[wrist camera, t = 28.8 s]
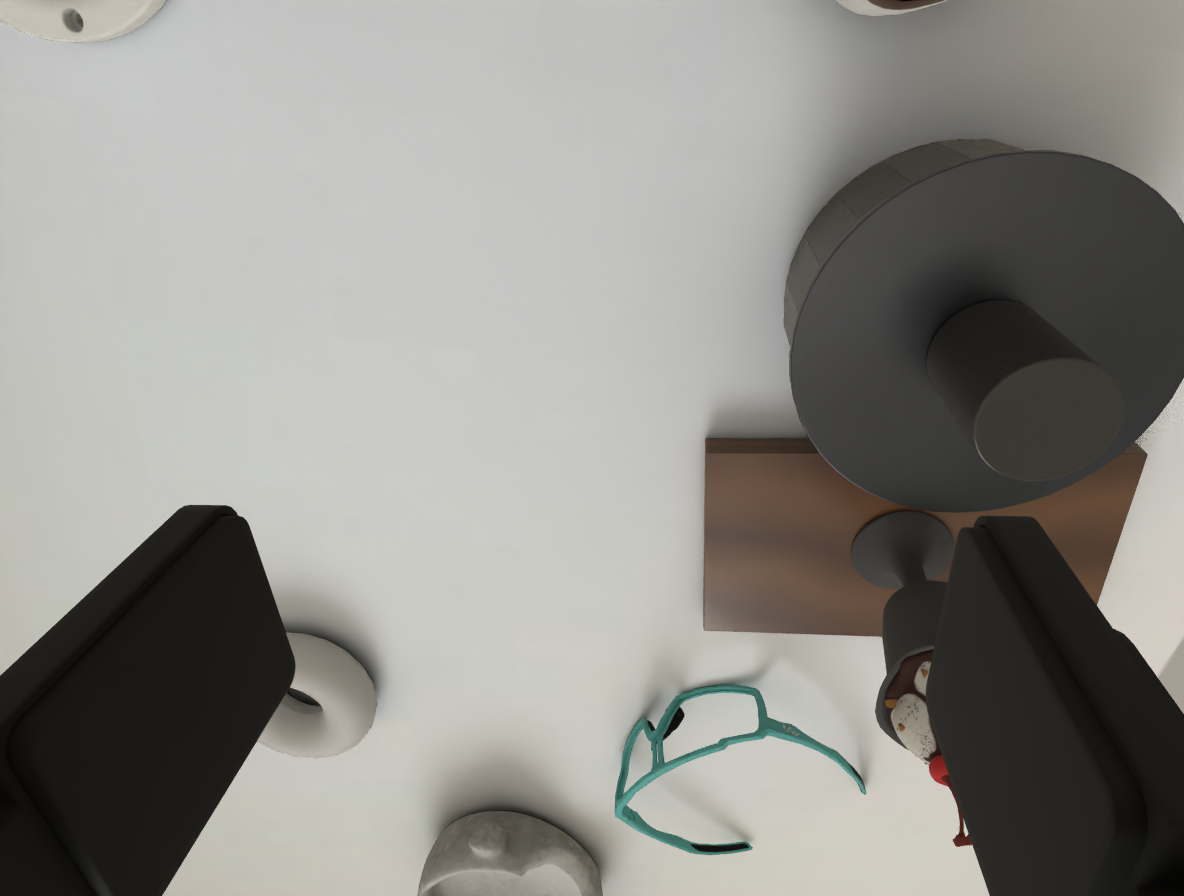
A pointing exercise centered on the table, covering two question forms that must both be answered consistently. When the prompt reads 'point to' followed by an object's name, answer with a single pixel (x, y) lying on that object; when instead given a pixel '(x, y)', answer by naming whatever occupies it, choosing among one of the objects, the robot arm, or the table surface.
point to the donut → (322, 702)
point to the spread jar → (886, 6)
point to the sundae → (909, 626)
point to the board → (833, 521)
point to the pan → (869, 206)
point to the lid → (992, 331)
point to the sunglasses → (670, 724)
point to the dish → (507, 859)
